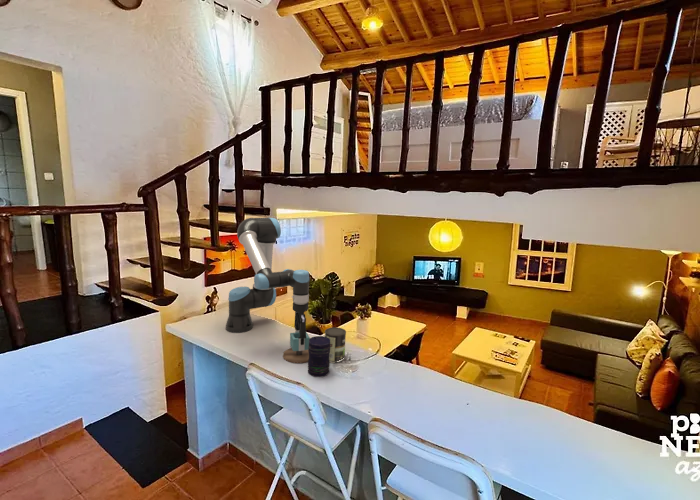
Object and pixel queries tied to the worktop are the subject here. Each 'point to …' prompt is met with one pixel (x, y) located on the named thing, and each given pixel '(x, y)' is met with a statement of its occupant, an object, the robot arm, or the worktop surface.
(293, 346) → the collar
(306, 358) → the post stand
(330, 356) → the coffee can
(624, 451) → the worktop surface
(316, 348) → the storage jar
